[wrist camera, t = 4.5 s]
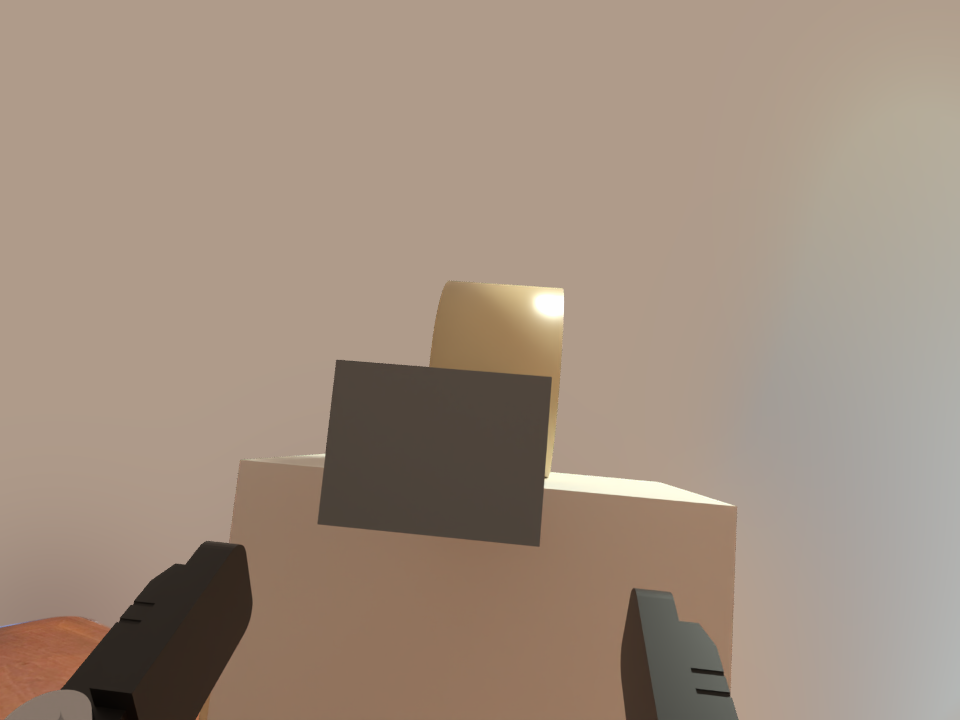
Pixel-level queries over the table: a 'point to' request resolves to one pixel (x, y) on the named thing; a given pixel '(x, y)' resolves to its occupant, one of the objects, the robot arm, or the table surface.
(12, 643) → the table surface
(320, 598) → the tall box
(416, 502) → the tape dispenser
